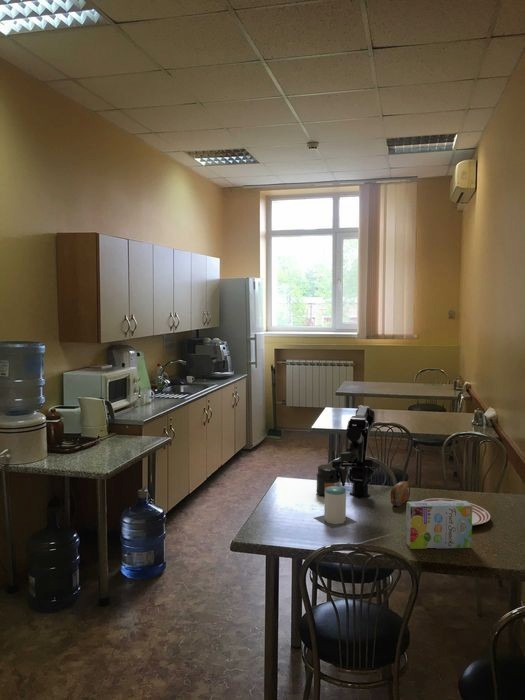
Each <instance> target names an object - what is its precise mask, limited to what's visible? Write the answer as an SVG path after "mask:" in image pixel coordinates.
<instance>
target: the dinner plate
mask: <svg viewBox="0 0 525 700" xmlns="http://www.w3.org/2000/svg"><path fill="white" fill-rule="evenodd" d="M421 501H461V500H459V499H453V498H443V497H442V498H441V497H440V498H439V497H436V498H435V497H434V498H426V499H422V500H421ZM467 502H468V503H469V504H471V505H472V527H473V526H477V525H482V524H484V523H487V522H489V521H490V519H491V514H490V513H489V511H488V510H486V509H485V508H483V507H481V506H479V505H477V504H475V503H471V502H469V501H467Z"/></svg>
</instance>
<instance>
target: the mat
mask: <svg viewBox="0 0 525 700" xmlns="http://www.w3.org/2000/svg"><path fill="white" fill-rule="evenodd" d="M313 519H314V520H316V521H317V522H319V523H320V524H321V523H322V524H323V525H325V526H327V527H329V528H331V529H332V530H333V529H337V528H340V527H343V526H347V525H348V526H349V525H352V524H353V525H354V524H356V523H358V521H356V520H354V519H352V518H350V517H348V516H346V520H345V522H344V523H341V524H332V523H328V522H326V521H325V520H324V514H323V515H319V516H315V517H313Z"/></svg>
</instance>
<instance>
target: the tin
mask: <svg viewBox="0 0 525 700" xmlns="http://www.w3.org/2000/svg"><path fill="white" fill-rule="evenodd" d="M410 497H411V485H410V482H409V481H402V480H401V481H399V482H398V483H396V484H395V485H393V486H392V487H391V490H390V504H391V505H392V506H395V507H401V506H403V505H404V504H405V503H407V502H409V499H410ZM406 501H407V502H406ZM403 503H404V504H403Z"/></svg>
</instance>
